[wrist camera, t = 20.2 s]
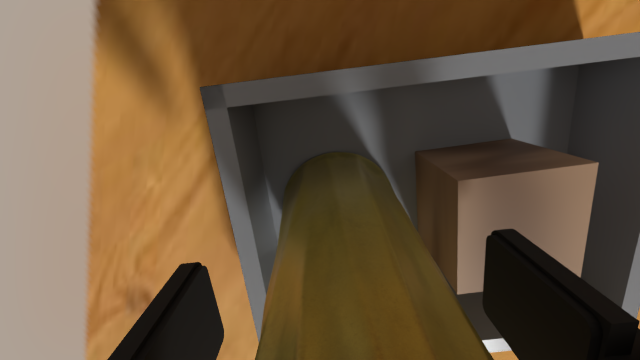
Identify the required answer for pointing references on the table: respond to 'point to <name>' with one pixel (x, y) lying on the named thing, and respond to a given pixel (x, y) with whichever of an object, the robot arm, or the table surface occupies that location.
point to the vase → (357, 275)
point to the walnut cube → (501, 204)
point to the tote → (440, 142)
